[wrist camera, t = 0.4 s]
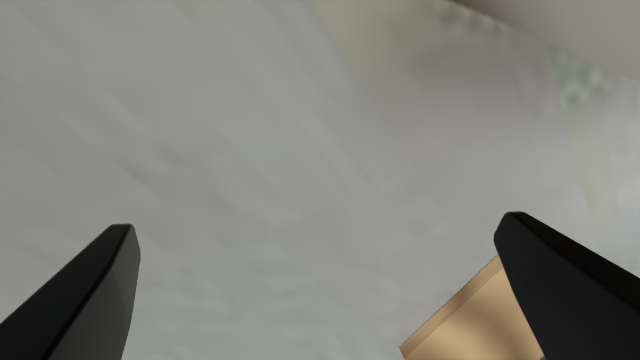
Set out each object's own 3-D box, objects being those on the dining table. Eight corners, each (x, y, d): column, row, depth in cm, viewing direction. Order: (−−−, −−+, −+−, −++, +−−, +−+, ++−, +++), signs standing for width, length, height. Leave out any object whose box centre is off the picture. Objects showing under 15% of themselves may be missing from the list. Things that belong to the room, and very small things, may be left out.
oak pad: (478, 393, 38) (485, 404, 37) (399, 347, 33) (404, 358, 32) (573, 312, 36) (583, 322, 35) (502, 250, 31) (511, 259, 30)
